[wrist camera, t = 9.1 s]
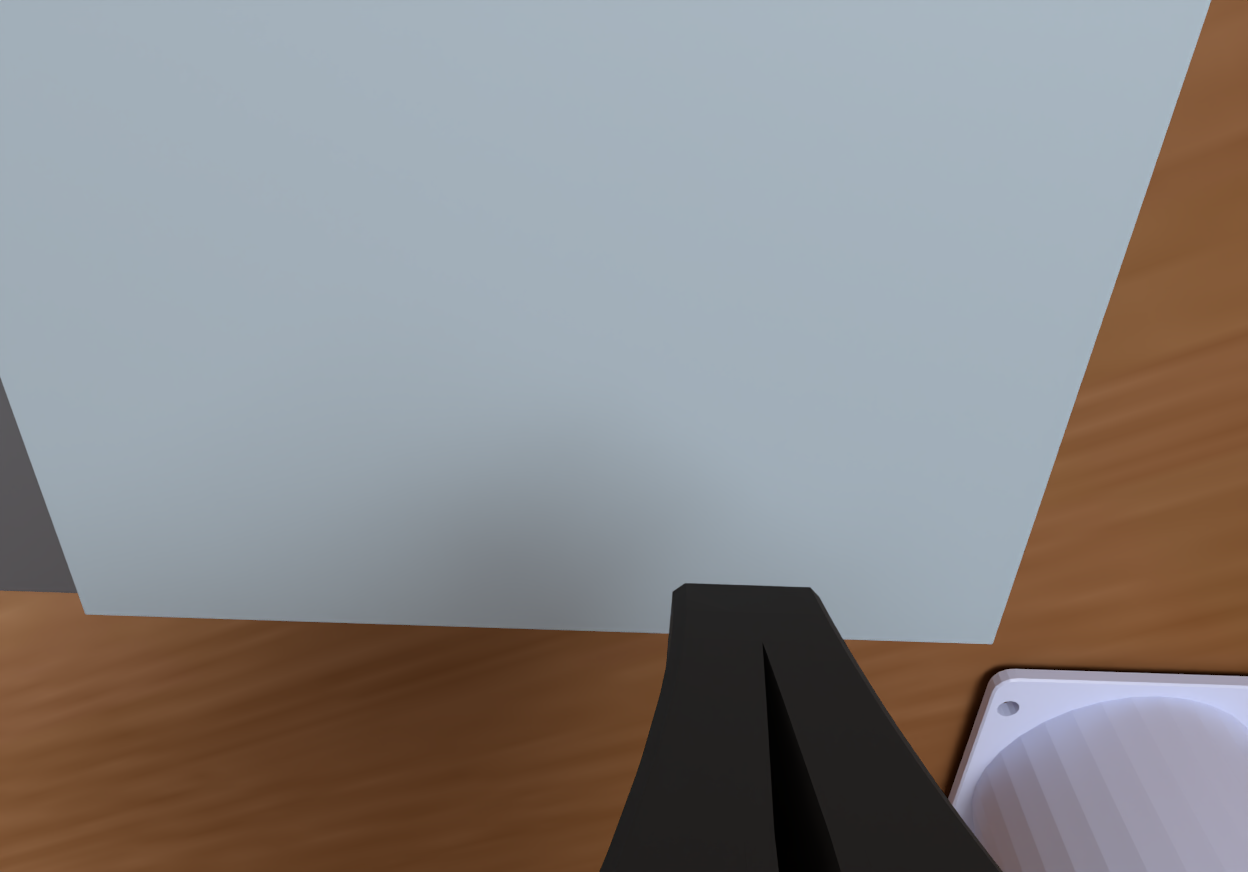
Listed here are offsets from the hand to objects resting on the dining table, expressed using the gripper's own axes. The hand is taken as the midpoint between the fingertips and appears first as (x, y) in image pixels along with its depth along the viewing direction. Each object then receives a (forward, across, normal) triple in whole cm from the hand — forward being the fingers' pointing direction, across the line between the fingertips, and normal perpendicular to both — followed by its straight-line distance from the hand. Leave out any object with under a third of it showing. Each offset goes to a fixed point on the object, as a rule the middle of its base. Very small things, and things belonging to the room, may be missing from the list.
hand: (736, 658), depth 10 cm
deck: (+10, +2, 0) cm, 10 cm away
